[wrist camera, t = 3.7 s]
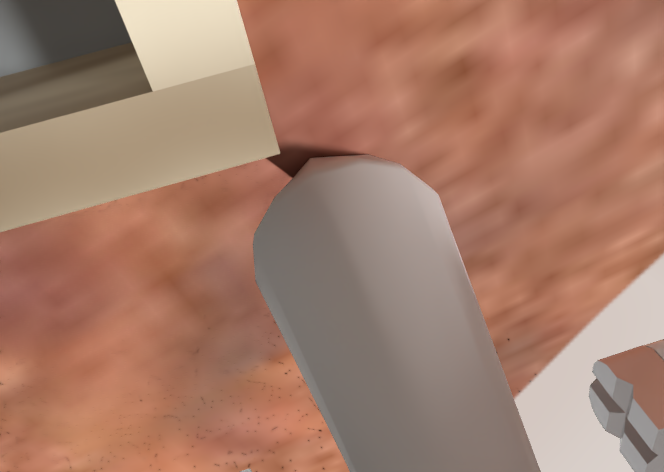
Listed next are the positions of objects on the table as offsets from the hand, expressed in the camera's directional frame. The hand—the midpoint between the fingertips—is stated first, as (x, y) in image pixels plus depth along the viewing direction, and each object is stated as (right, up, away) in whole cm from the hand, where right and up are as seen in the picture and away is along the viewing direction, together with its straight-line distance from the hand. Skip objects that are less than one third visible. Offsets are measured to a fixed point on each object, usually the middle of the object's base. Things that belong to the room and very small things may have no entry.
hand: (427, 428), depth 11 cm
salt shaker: (-2, +5, +7) cm, 9 cm away
